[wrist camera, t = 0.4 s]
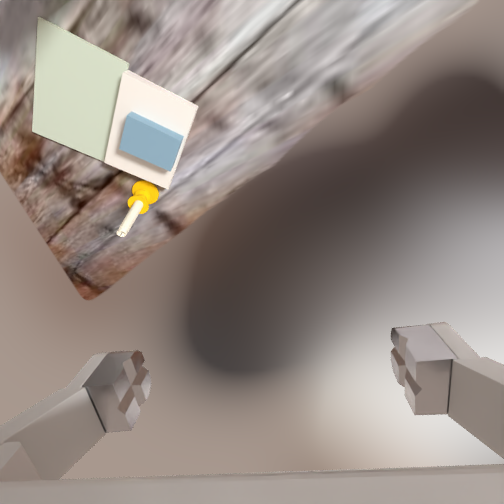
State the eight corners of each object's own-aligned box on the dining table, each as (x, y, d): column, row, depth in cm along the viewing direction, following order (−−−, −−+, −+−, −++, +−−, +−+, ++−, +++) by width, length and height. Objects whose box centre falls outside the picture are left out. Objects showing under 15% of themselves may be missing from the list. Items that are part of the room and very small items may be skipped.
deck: (128, 69, 48) (122, 72, 46) (198, 106, 52) (196, 109, 50) (109, 157, 57) (104, 162, 55) (170, 183, 60) (168, 189, 58)
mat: (39, 16, 44) (37, 16, 44) (129, 63, 48) (128, 63, 47) (33, 130, 54) (32, 131, 54) (108, 162, 58) (107, 163, 57)
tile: (131, 111, 50) (126, 115, 48) (183, 136, 52) (181, 141, 50) (123, 144, 53) (119, 149, 51) (173, 166, 56) (170, 171, 54)
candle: (164, 196, 62) (143, 241, 50) (144, 207, 64) (119, 252, 51) (147, 175, 59) (120, 217, 47) (127, 187, 61) (96, 230, 49)
